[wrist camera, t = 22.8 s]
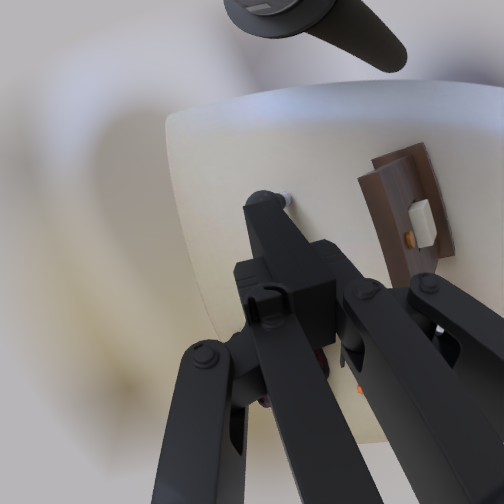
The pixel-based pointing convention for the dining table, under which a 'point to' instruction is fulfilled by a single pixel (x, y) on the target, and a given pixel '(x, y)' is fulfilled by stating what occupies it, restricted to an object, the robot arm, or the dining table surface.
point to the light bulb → (270, 198)
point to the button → (422, 223)
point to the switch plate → (405, 212)
